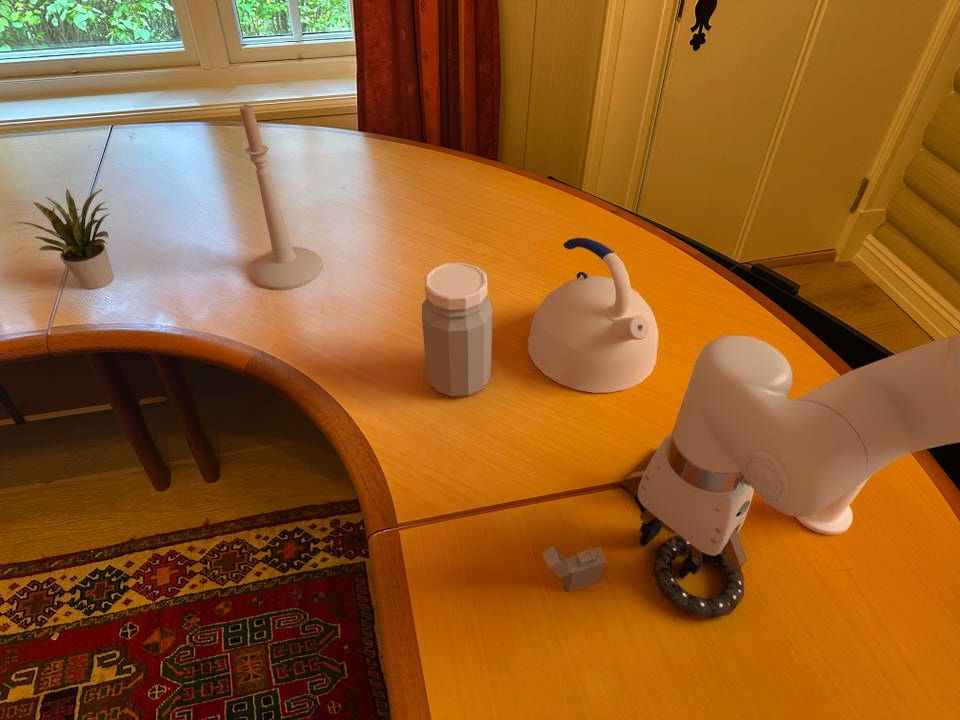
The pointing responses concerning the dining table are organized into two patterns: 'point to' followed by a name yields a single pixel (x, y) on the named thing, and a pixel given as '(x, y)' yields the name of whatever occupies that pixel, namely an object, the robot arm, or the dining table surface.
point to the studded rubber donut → (689, 602)
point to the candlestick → (276, 226)
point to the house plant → (79, 242)
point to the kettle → (595, 329)
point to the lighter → (576, 567)
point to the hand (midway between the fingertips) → (668, 552)
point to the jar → (457, 329)
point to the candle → (833, 515)
